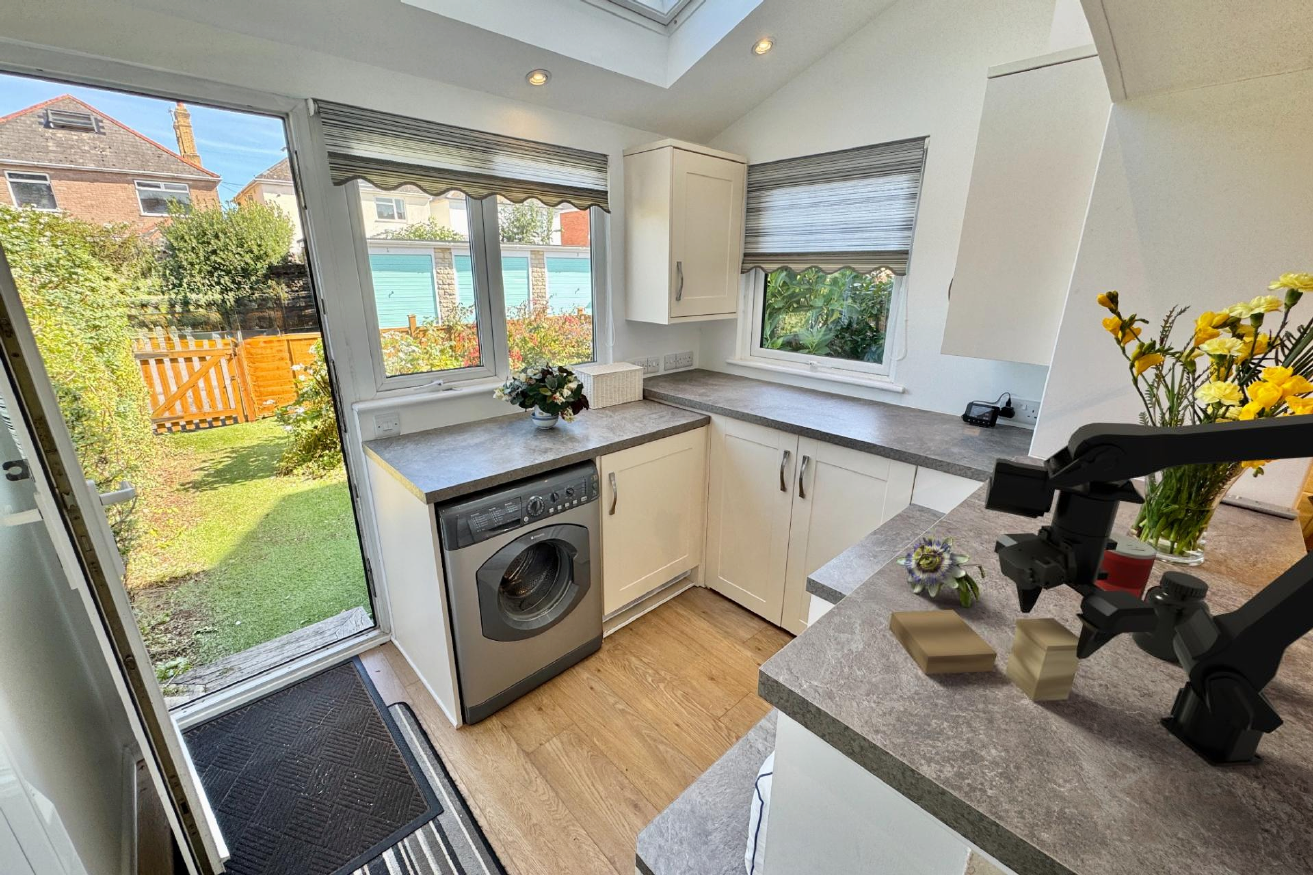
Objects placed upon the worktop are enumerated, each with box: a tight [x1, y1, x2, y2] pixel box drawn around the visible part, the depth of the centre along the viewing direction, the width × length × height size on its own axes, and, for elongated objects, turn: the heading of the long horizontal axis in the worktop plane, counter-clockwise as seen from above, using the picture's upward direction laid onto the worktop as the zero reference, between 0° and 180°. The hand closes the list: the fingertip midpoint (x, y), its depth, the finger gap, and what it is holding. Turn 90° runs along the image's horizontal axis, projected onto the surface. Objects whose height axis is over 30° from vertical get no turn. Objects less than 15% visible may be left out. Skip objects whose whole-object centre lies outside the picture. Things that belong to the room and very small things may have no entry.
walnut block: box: [888, 609, 998, 675], centre depth 78 cm, size 10×10×3 cm
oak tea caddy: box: [1004, 617, 1081, 702], centre depth 70 cm, size 5×5×9 cm
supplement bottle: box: [1131, 570, 1211, 663], centre depth 78 cm, size 7×7×12 cm
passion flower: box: [895, 536, 986, 609], centre depth 92 cm, size 11×11×12 cm
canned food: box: [1095, 533, 1157, 600], centre depth 89 cm, size 8×8×11 cm
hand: (1051, 633), depth 69 cm, fingers open, 9 cm apart
